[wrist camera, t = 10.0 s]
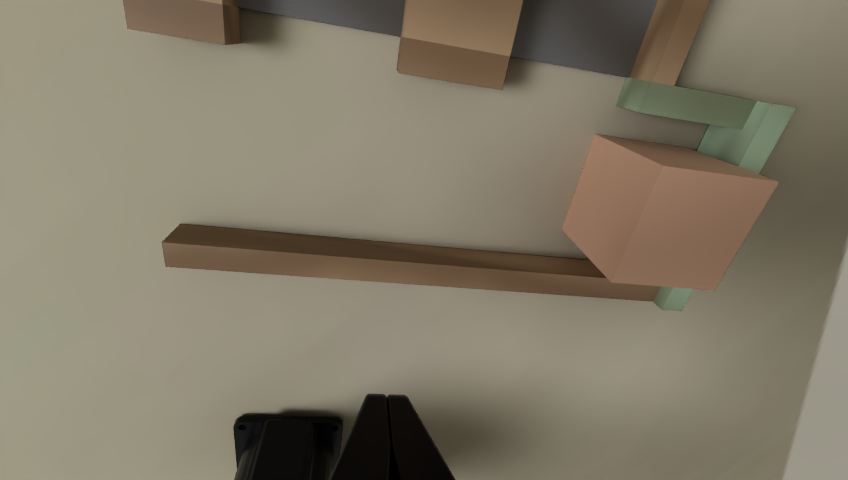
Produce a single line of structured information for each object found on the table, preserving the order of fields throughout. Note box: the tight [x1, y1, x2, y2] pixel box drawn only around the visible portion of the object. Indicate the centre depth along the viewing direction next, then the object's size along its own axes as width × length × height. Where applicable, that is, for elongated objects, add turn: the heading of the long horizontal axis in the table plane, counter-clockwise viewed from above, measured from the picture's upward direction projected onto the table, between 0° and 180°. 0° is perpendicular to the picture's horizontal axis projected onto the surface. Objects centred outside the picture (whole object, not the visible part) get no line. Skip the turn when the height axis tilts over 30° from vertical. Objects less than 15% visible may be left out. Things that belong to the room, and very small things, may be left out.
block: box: [562, 134, 779, 291], centre depth 18 cm, size 5×5×5 cm
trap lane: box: [123, 0, 796, 311], centre depth 16 cm, size 16×25×2 cm, turn 81°
